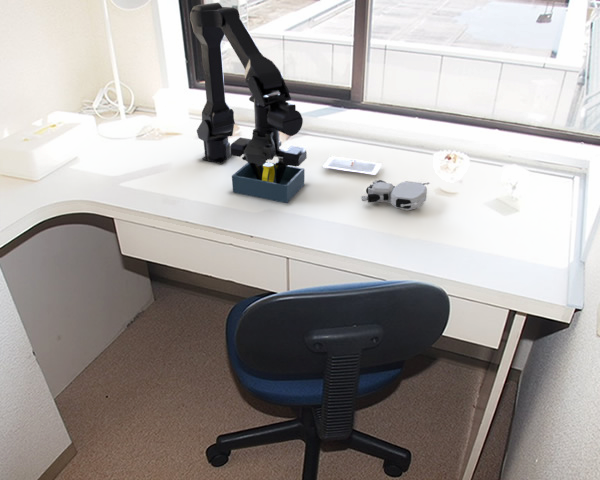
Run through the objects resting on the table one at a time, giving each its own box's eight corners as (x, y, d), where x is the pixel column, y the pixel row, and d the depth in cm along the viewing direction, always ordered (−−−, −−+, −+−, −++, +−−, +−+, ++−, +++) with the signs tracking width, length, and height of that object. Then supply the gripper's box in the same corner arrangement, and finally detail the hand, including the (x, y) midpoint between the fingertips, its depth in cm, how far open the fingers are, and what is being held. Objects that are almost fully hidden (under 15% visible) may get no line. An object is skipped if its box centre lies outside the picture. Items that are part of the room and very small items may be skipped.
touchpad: (375, 178, 148) (376, 171, 147) (322, 170, 152) (322, 163, 151) (381, 167, 154) (382, 159, 153) (330, 159, 158) (330, 152, 157)
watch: (270, 192, 141) (269, 170, 137) (259, 190, 141) (258, 168, 138) (277, 182, 145) (276, 160, 142) (267, 181, 146) (266, 159, 142)
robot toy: (358, 210, 136) (419, 218, 130) (358, 193, 133) (420, 201, 128) (373, 190, 145) (430, 197, 139) (373, 173, 142) (432, 180, 137)
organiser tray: (232, 192, 142) (231, 175, 139) (252, 175, 150) (251, 159, 147) (287, 203, 137) (287, 186, 134) (304, 184, 145) (304, 168, 143)
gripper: (216, 129, 130) (221, 190, 140) (289, 140, 124) (289, 203, 134) (238, 114, 138) (242, 172, 148) (307, 124, 133) (307, 184, 142)
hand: (268, 183), depth 143 cm, fingers open, 5 cm apart
